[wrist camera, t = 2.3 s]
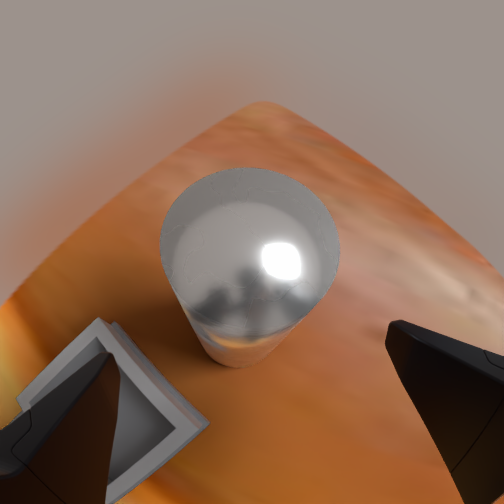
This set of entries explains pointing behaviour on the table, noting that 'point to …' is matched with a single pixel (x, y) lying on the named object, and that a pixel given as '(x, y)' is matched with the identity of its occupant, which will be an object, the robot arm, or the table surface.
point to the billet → (248, 260)
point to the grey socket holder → (127, 405)
